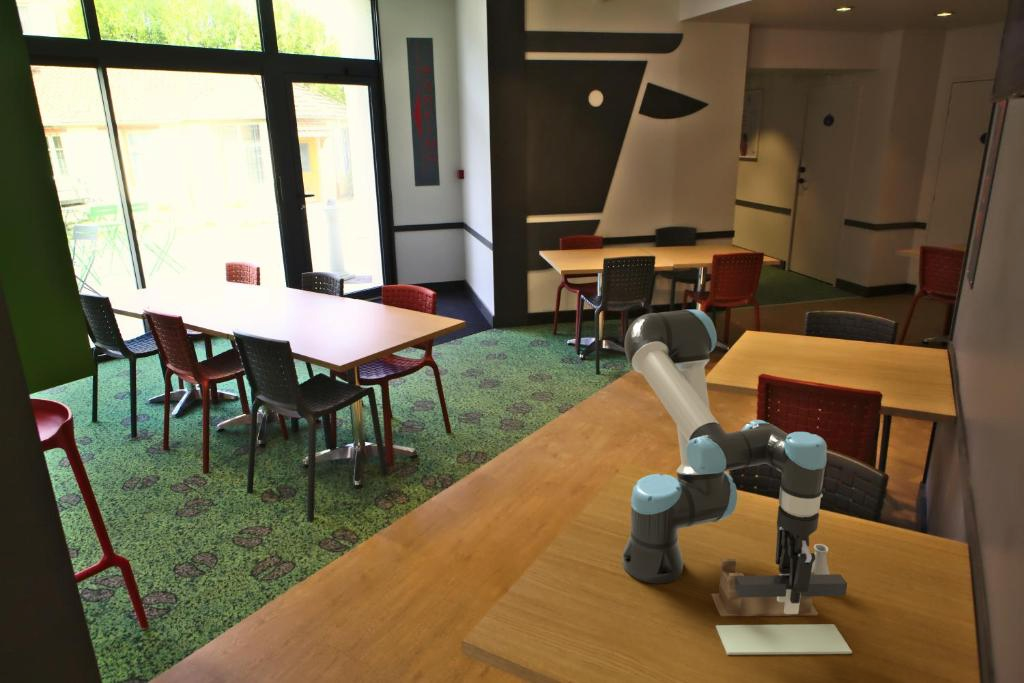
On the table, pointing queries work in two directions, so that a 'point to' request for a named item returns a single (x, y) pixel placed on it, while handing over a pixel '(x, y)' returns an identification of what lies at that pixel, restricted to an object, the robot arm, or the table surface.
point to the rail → (777, 584)
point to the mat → (782, 639)
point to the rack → (752, 598)
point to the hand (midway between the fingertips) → (787, 606)
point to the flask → (820, 560)
